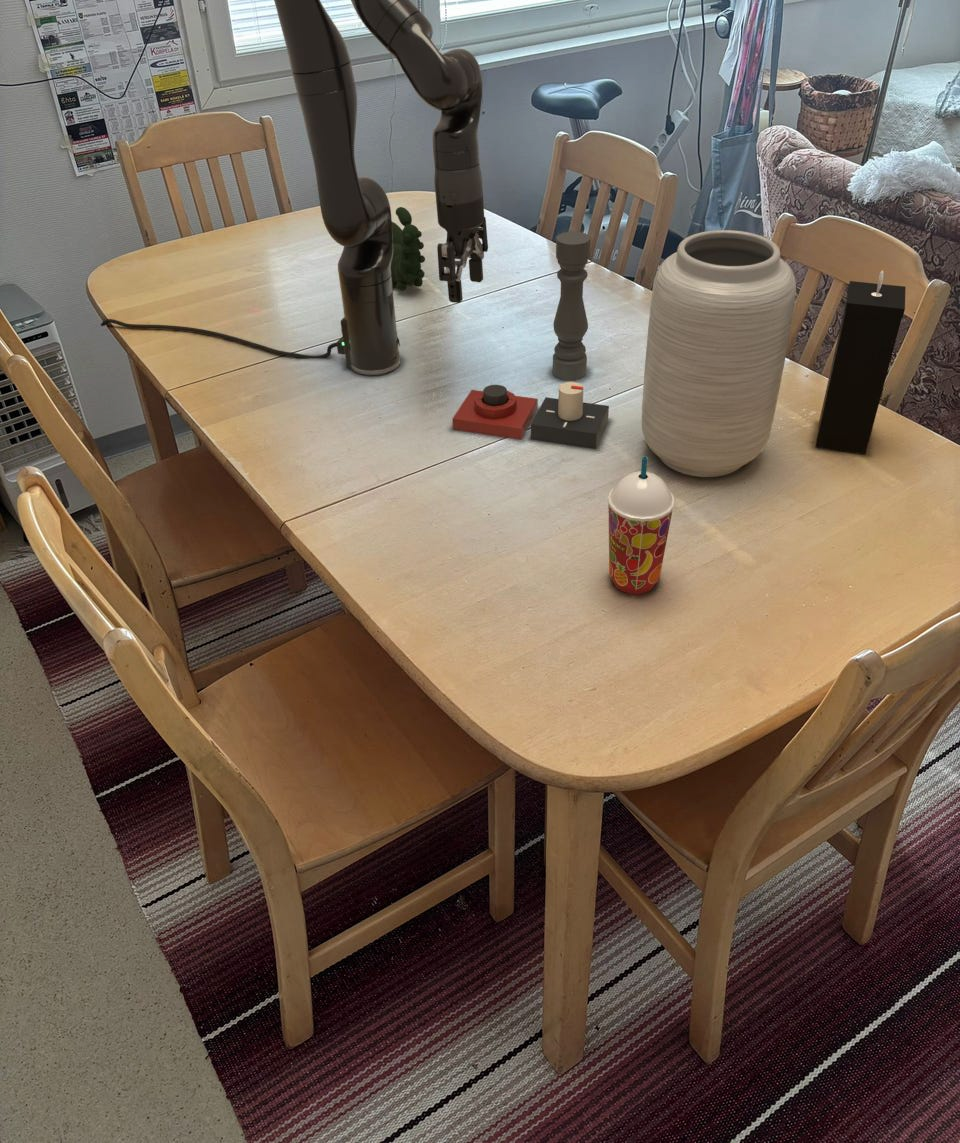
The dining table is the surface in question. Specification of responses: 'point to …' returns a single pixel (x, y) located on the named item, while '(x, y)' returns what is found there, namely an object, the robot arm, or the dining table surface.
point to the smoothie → (638, 530)
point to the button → (495, 395)
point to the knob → (570, 401)
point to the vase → (716, 351)
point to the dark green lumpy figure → (406, 252)
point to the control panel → (569, 425)
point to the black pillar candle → (860, 365)
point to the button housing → (496, 415)
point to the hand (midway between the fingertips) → (466, 291)
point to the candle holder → (571, 306)
